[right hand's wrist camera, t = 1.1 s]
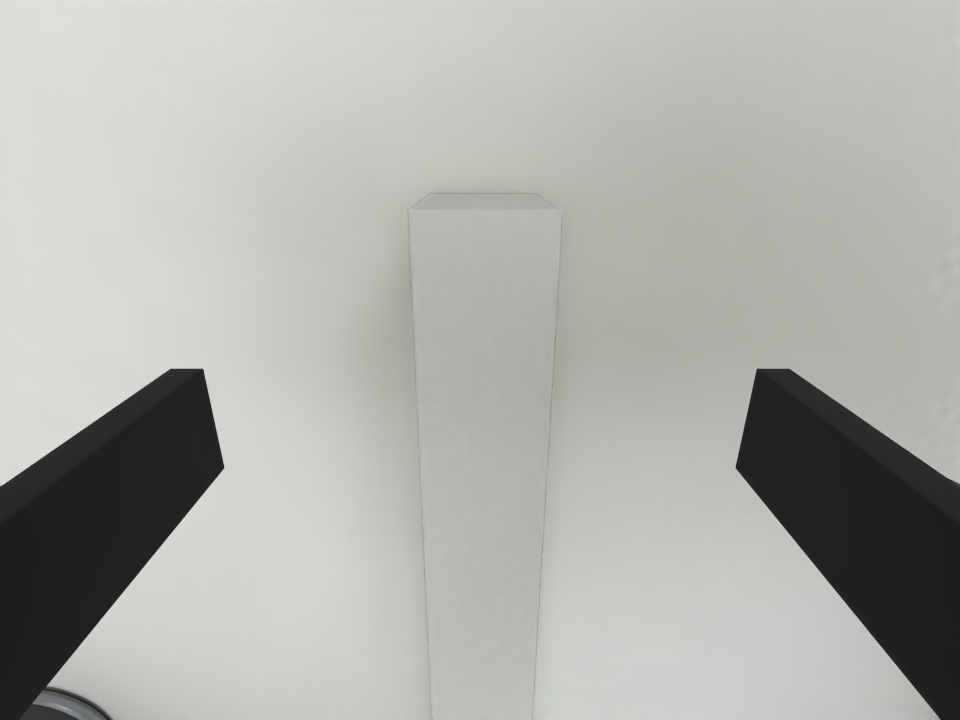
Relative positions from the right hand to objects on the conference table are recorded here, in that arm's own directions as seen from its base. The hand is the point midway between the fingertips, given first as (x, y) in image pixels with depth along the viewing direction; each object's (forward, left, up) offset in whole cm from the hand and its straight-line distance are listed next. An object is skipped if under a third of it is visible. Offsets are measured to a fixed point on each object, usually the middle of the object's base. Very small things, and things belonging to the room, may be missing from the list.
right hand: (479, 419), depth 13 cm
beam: (-13, +22, -14) cm, 28 cm away
